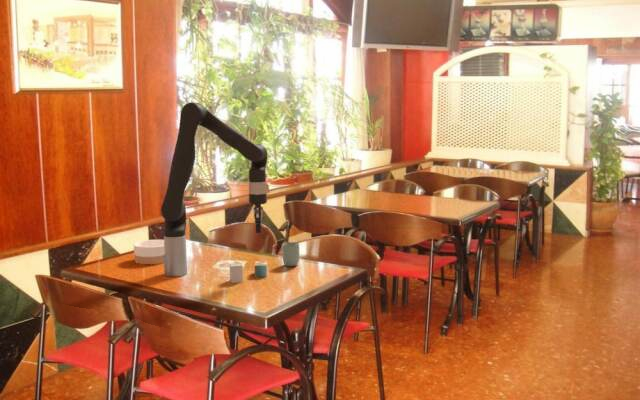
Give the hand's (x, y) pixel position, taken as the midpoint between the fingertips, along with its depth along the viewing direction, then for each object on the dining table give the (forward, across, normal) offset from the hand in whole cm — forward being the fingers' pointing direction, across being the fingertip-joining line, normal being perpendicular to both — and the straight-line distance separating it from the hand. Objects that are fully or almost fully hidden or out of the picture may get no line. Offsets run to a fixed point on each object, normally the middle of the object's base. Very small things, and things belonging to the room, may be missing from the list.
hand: (258, 232), depth 296 cm
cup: (+19, -18, +14) cm, 29 cm away
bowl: (+20, -34, -52) cm, 65 cm away
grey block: (+19, +7, -9) cm, 22 cm away
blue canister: (+17, +1, +1) cm, 17 cm away
